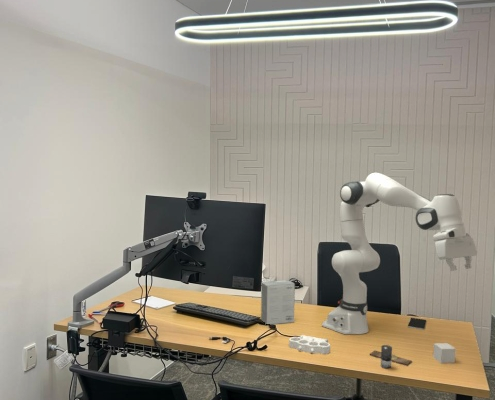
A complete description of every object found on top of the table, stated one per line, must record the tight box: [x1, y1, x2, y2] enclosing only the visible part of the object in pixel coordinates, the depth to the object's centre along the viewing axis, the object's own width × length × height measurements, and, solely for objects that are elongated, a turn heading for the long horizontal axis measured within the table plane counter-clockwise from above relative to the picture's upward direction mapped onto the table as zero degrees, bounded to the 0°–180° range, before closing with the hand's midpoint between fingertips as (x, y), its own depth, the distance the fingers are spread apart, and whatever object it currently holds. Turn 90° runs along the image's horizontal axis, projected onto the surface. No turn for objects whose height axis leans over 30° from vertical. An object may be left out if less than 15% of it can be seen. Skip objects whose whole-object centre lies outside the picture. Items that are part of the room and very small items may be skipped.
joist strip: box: [369, 350, 413, 367], centre depth 195 cm, size 16×6×1 cm, turn 50°
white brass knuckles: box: [288, 334, 331, 355], centre depth 206 cm, size 3×18×15 cm
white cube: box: [432, 342, 456, 364], centre depth 195 cm, size 6×6×6 cm
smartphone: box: [407, 317, 427, 331], centre depth 240 cm, size 8×1×15 cm
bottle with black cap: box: [380, 344, 393, 370], centre depth 187 cm, size 4×4×8 cm
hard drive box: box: [260, 279, 296, 325], centre depth 239 cm, size 16×8×20 cm, turn 108°
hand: (461, 269), depth 181 cm, fingers open, 8 cm apart
